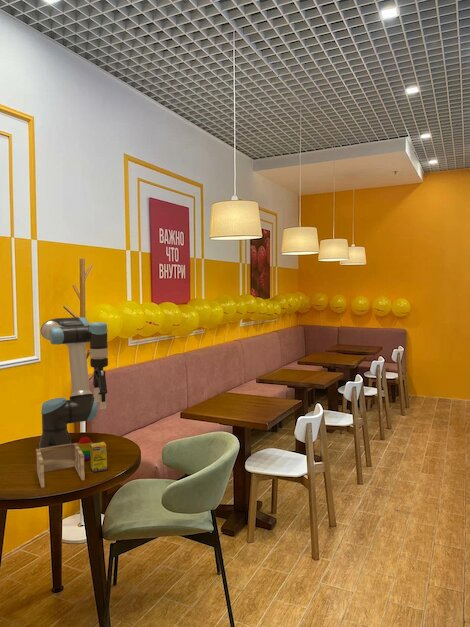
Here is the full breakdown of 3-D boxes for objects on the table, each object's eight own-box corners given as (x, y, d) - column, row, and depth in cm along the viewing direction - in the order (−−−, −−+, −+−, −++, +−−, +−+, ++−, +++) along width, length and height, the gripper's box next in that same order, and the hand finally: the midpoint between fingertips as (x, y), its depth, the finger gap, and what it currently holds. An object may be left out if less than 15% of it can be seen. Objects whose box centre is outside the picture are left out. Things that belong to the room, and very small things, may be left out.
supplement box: (93, 473, 203) (92, 447, 202) (90, 468, 208) (89, 443, 207) (107, 470, 205) (106, 445, 205) (104, 466, 211) (103, 441, 210)
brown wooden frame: (36, 472, 205) (35, 449, 204) (77, 465, 212) (76, 442, 212) (40, 488, 188) (39, 462, 187) (85, 479, 195) (84, 455, 195)
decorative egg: (82, 462, 215) (81, 440, 215) (72, 459, 221) (71, 437, 220) (98, 457, 221) (97, 436, 221) (88, 454, 227) (87, 433, 226)
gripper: (85, 354, 221) (87, 400, 223) (95, 362, 199) (96, 413, 200) (102, 353, 224) (103, 398, 226) (113, 361, 202) (114, 410, 203)
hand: (100, 405), depth 213 cm, fingers open, 13 cm apart
